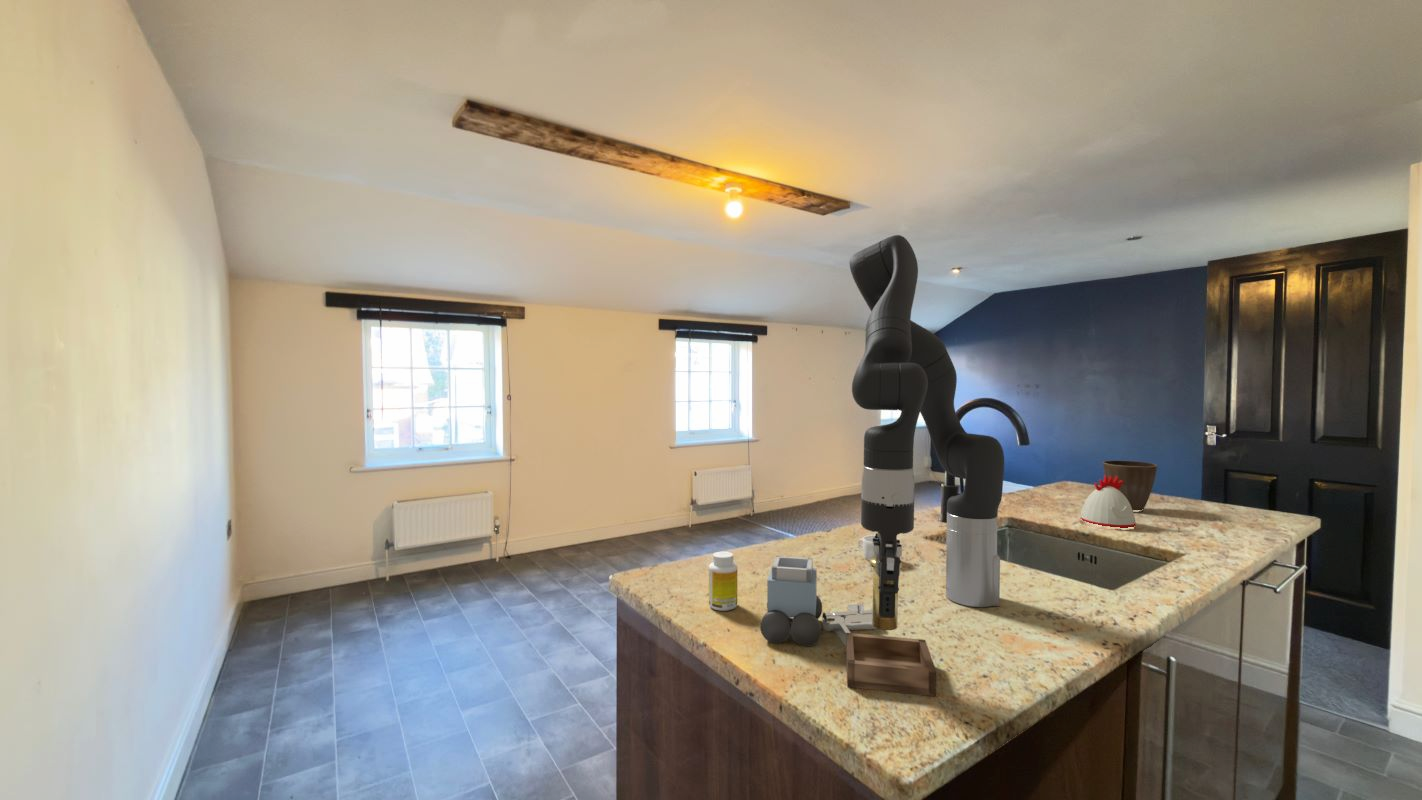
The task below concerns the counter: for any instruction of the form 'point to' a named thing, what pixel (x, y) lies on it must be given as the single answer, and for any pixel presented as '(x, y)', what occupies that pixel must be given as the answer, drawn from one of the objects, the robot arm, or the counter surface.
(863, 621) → the grey metal piece
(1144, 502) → the plant pot
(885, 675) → the tray
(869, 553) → the teacup
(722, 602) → the supplement bottle
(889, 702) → the counter surface
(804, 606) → the trolley
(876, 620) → the stop pin
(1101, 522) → the kitchen timer
